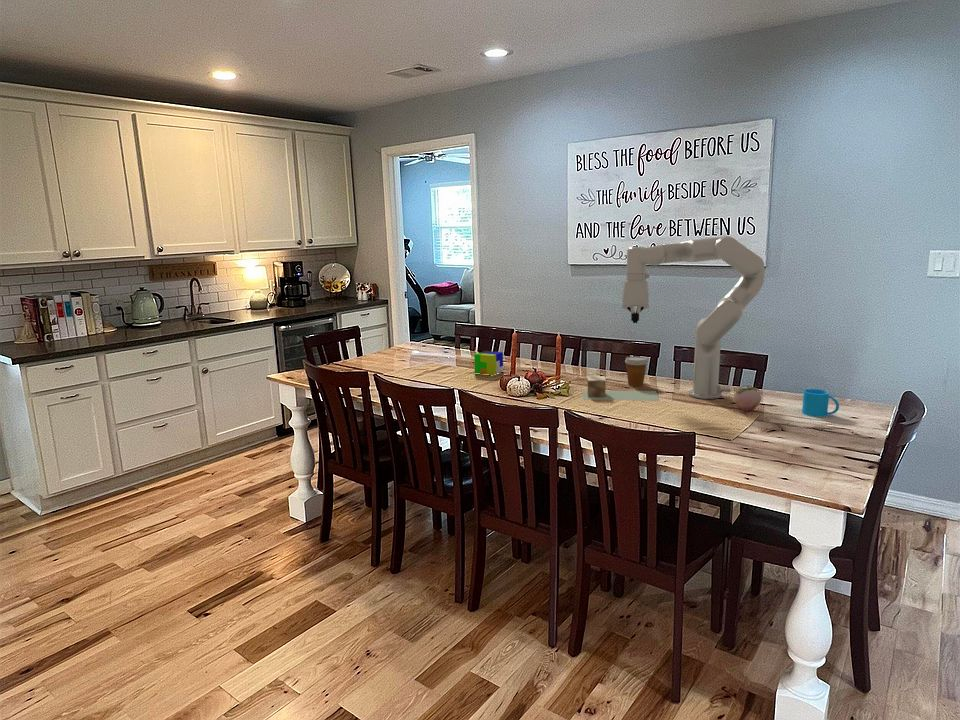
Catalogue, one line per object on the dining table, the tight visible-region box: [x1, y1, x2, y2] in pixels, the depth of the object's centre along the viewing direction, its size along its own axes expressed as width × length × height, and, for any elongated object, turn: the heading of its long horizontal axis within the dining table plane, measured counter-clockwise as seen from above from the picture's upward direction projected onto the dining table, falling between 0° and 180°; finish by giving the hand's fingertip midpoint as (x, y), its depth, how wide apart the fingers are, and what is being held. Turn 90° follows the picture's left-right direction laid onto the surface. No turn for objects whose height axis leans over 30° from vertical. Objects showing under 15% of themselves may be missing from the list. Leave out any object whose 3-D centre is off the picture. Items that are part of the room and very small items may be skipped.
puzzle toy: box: [473, 350, 504, 375], centre depth 308 cm, size 10×10×10 cm
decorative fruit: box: [733, 385, 762, 413], centre depth 235 cm, size 9×8×10 cm
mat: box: [582, 389, 661, 402], centre depth 262 cm, size 30×15×1 cm, turn 82°
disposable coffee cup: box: [624, 356, 649, 387], centre depth 278 cm, size 10×10×12 cm
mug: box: [801, 388, 840, 418], centre depth 230 cm, size 12×8×8 cm
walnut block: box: [587, 375, 607, 397], centre depth 263 cm, size 7×7×7 cm
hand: (634, 322), depth 263 cm, fingers closed
